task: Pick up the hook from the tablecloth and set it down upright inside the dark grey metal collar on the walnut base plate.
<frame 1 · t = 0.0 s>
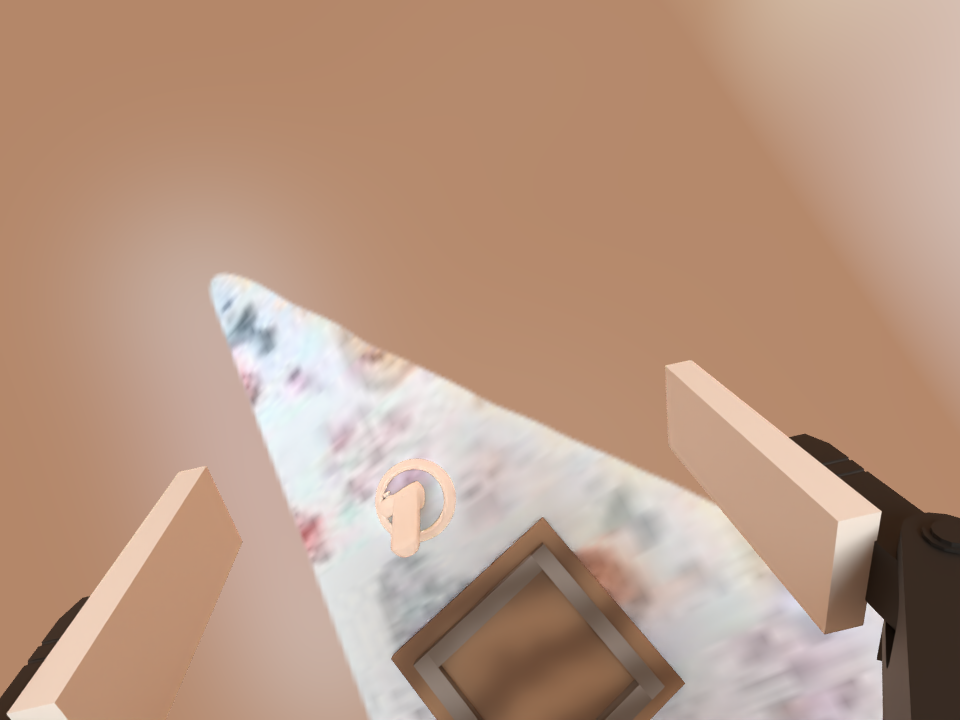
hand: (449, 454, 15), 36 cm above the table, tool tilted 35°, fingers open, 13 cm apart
hook: (416, 499, 50), on the table
collar plate: (535, 666, 46), on the table
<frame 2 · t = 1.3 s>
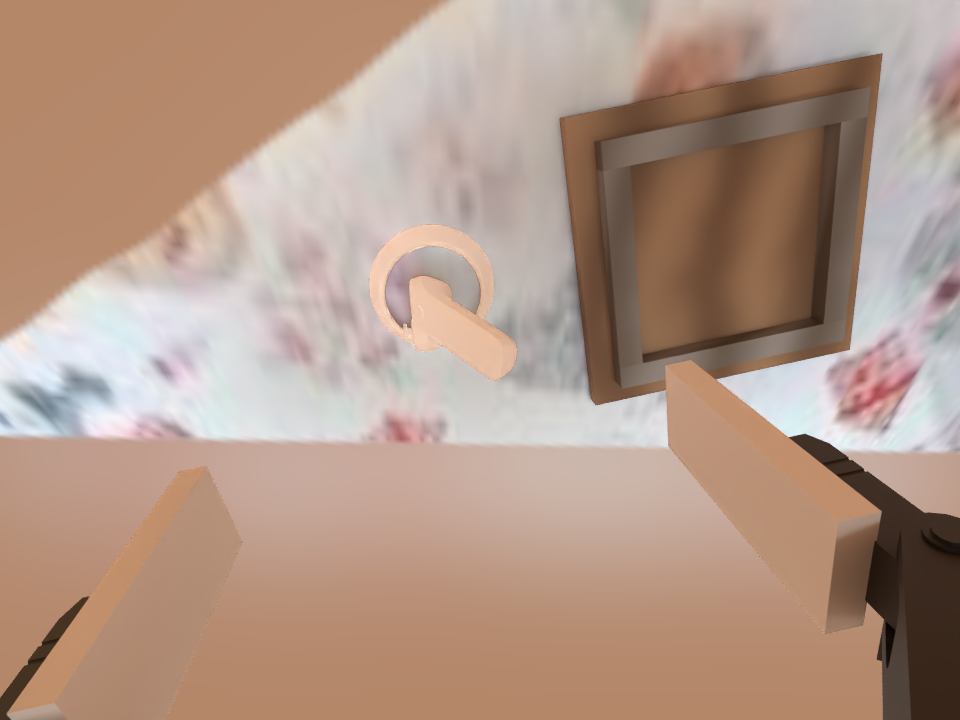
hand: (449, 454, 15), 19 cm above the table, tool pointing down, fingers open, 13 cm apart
hook: (432, 286, 32), on the table
collar plate: (715, 244, 33), on the table
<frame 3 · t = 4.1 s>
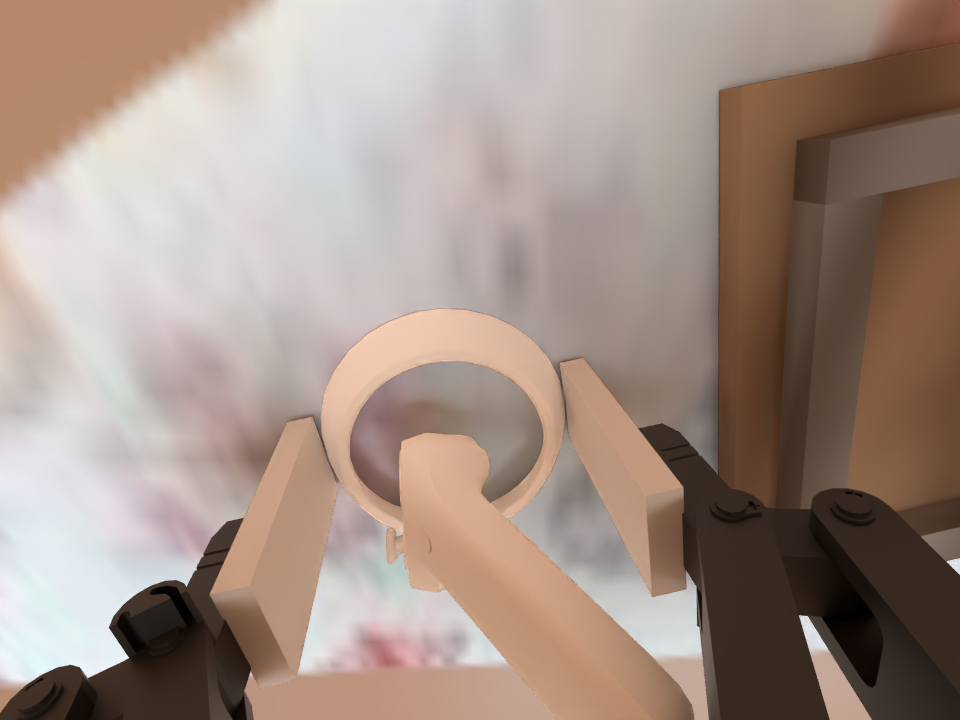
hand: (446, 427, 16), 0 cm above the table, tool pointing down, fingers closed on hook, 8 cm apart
hook: (446, 420, 17), on the table, touching gripper
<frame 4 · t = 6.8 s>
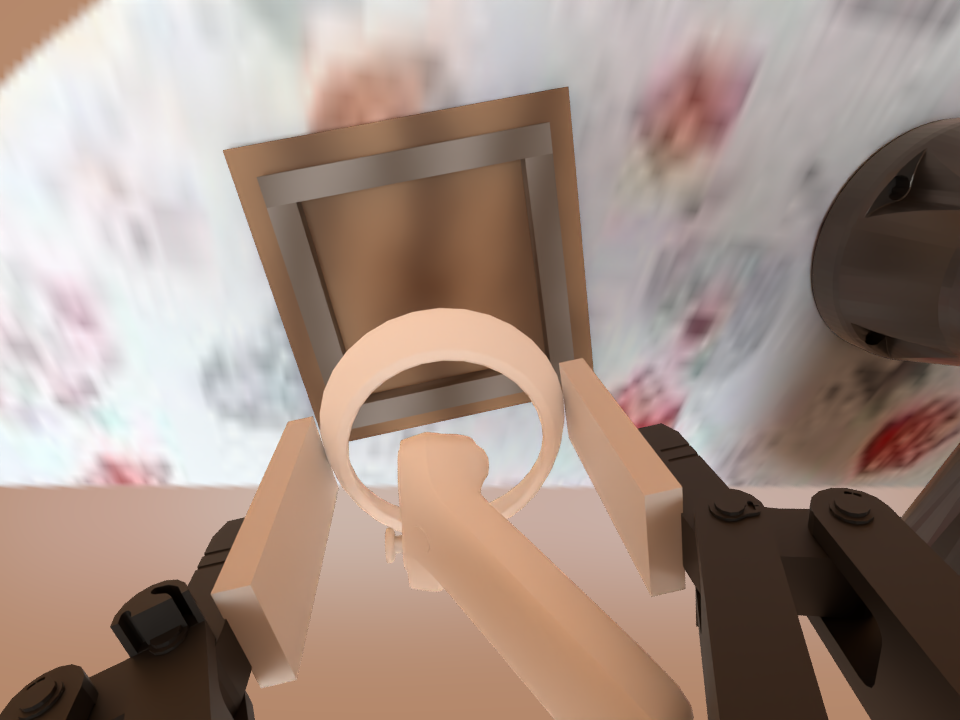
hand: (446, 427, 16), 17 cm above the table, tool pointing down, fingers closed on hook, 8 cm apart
hook: (445, 420, 17), point 16 cm above the table, touching gripper
collar plate: (433, 281, 31), on the table
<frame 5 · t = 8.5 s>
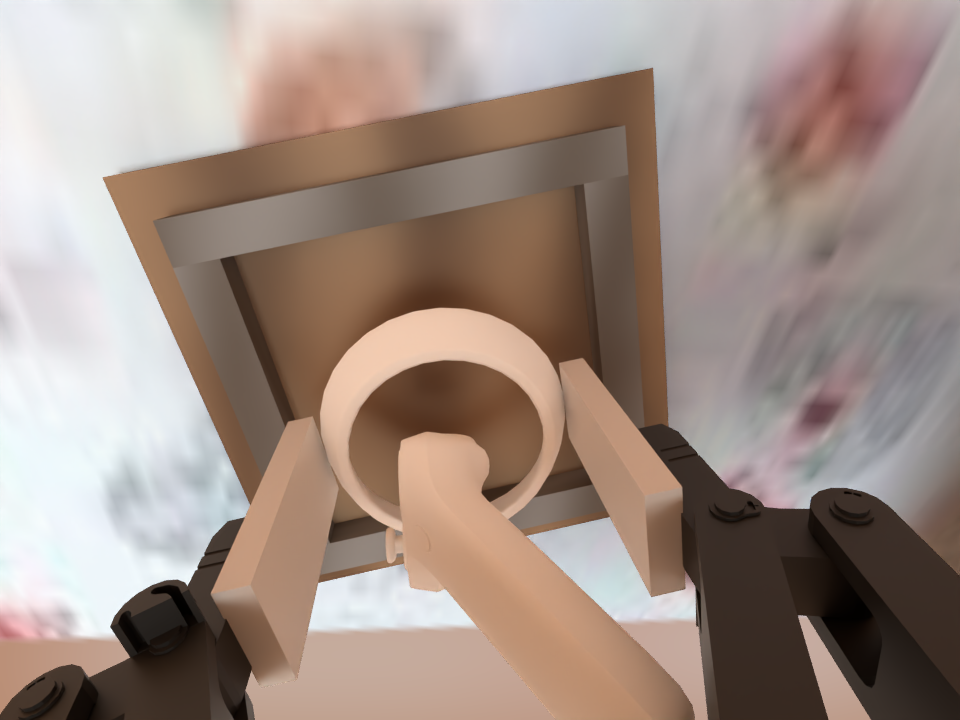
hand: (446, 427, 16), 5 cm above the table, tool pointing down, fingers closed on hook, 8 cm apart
hook: (446, 420, 17), point 5 cm above the table, touching gripper
collar plate: (440, 361, 21), on the table
when the fingers open (3 cm above the table, at t = 9.8 s): hook drops 1 cm, resting on collar plate.
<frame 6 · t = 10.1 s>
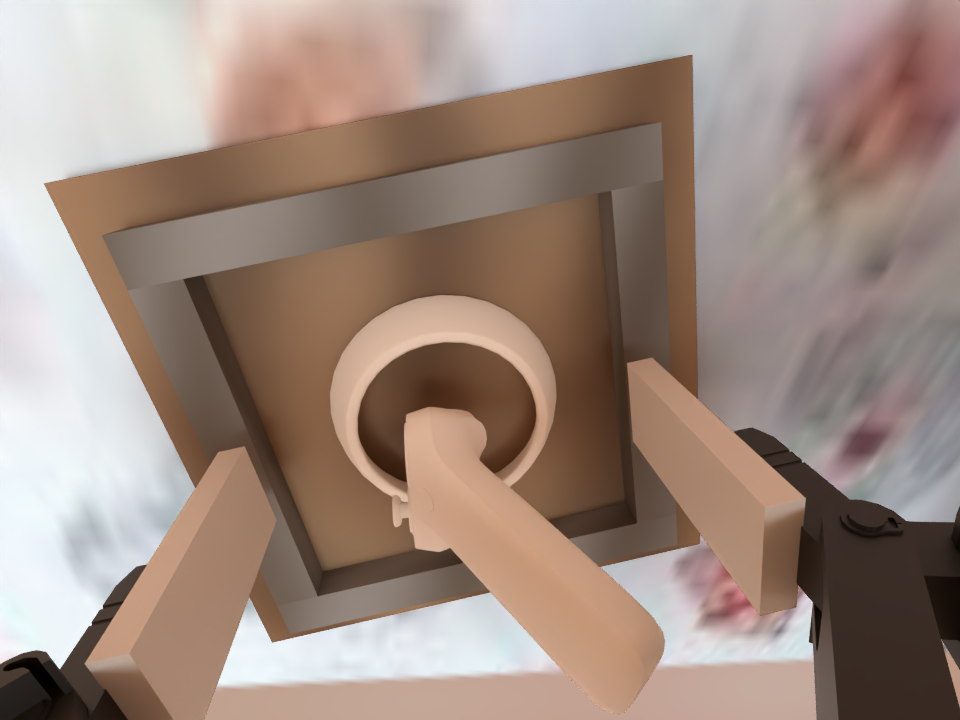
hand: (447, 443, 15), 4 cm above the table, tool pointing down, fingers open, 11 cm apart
hook: (446, 400, 18), point 1 cm above the table, touching collar plate
collar plate: (442, 390, 19), on the table
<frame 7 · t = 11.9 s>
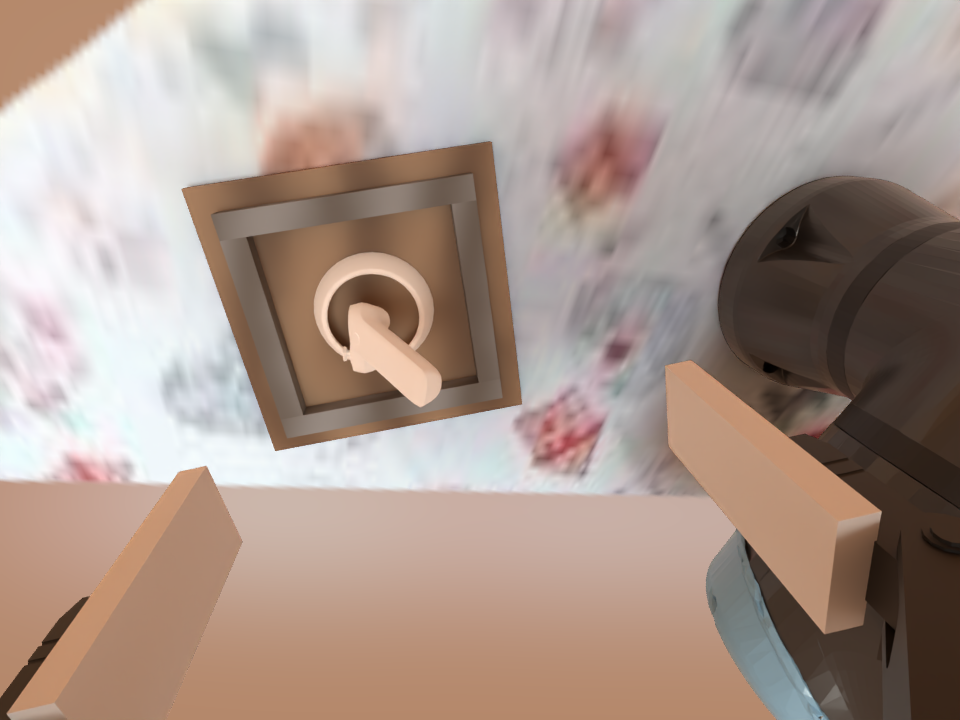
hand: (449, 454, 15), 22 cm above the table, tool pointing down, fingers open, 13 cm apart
hook: (375, 309, 34), point 1 cm above the table, touching collar plate
collar plate: (374, 305, 35), on the table
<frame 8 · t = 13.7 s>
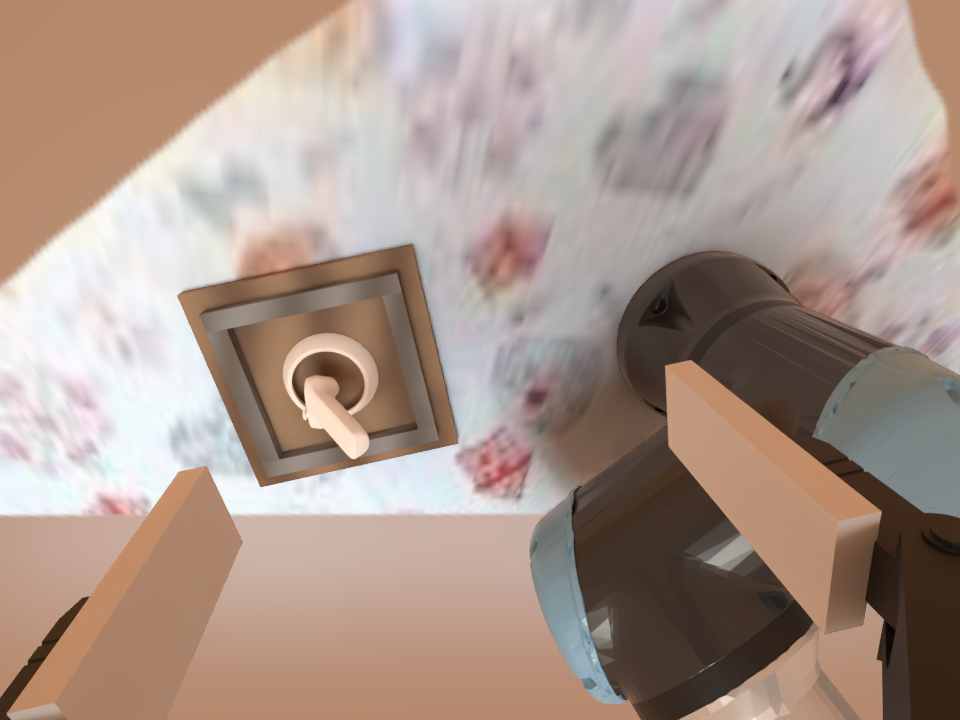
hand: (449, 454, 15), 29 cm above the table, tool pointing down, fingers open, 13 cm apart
hook: (332, 375, 43), point 1 cm above the table, touching collar plate
collar plate: (332, 371, 44), on the table
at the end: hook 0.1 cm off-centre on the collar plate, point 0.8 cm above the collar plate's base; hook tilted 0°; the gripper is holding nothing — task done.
